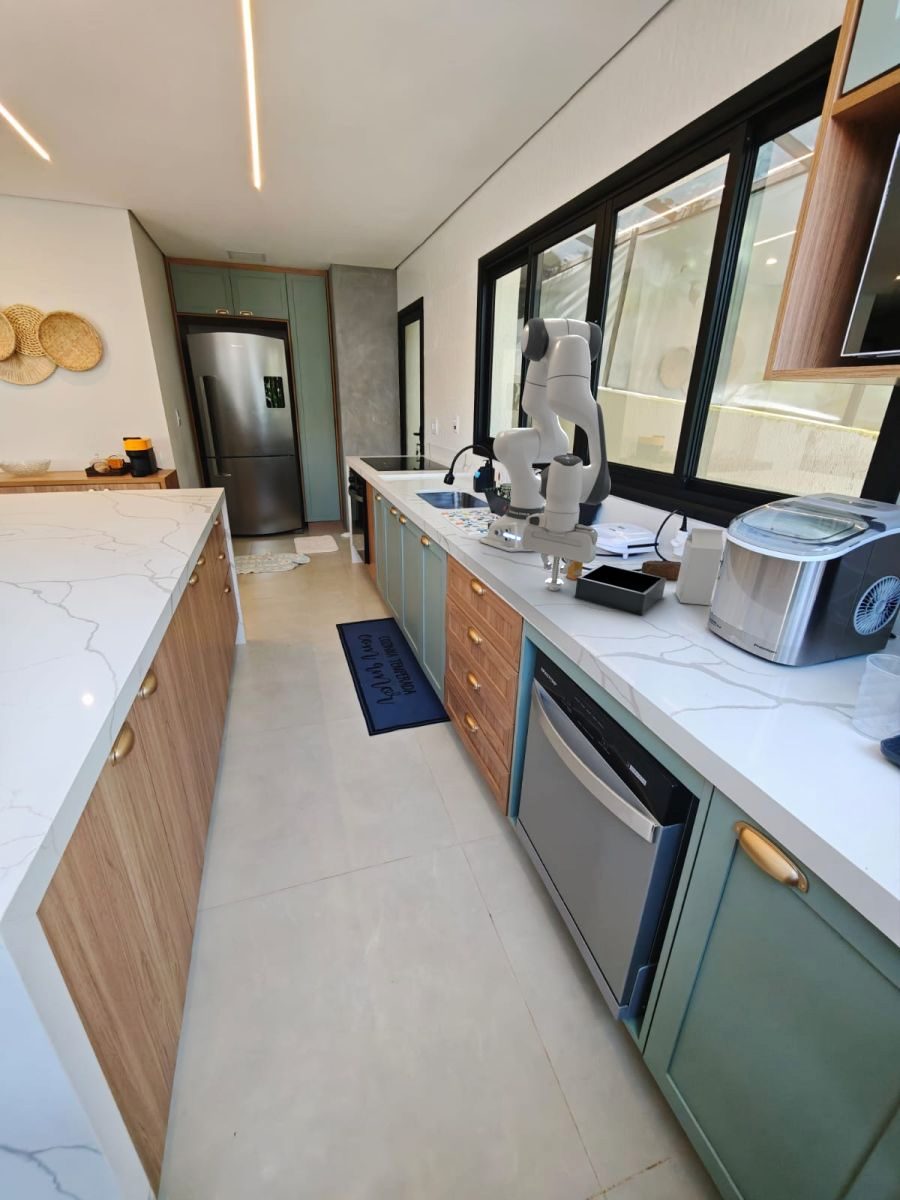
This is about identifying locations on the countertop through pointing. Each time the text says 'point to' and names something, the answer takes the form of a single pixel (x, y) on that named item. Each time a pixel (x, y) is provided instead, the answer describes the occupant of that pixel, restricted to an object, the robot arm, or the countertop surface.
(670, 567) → the brick
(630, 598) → the grey storage bin
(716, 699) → the countertop surface
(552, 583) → the screw
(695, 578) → the milk carton
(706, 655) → the countertop surface
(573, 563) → the supplement box
